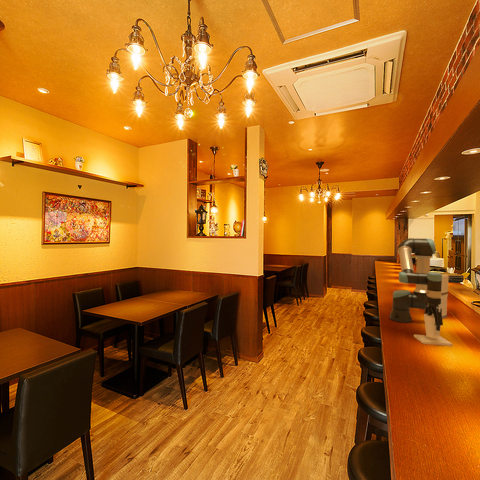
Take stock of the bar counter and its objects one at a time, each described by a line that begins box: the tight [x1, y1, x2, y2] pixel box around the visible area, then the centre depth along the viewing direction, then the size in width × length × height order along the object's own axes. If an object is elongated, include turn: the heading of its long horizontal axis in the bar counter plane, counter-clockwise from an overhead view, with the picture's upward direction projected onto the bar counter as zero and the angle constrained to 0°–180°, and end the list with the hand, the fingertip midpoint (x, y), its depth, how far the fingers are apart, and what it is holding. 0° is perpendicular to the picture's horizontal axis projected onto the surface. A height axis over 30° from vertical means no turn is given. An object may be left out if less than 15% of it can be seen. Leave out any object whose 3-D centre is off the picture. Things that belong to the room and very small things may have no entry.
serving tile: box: [413, 334, 453, 347], centre depth 170 cm, size 12×16×2 cm
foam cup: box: [423, 314, 442, 339], centre depth 170 cm, size 10×9×13 cm
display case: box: [438, 274, 449, 320], centre depth 225 cm, size 11×11×35 cm
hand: (432, 332), depth 170 cm, fingers closed on foam cup, 9 cm apart
